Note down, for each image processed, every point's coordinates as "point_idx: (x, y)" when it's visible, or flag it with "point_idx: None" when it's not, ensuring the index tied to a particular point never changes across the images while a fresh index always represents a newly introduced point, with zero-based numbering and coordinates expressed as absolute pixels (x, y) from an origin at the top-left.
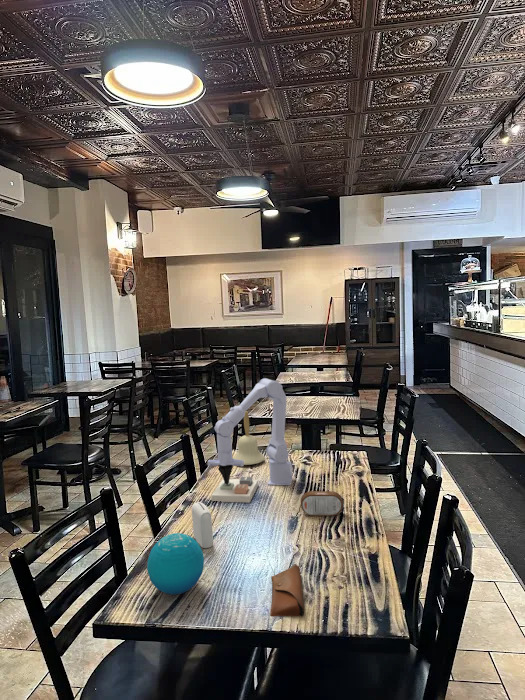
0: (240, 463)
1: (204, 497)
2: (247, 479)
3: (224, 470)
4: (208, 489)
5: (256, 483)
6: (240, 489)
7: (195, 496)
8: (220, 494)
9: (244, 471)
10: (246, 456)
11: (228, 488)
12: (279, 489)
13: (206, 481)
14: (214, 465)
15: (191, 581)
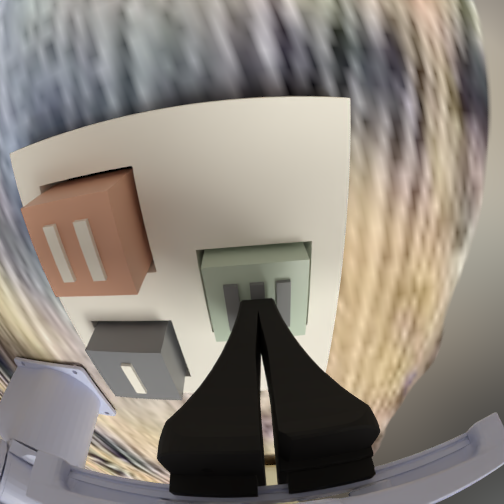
0: (49, 487)
1: (404, 171)
2: (117, 370)
3: (275, 419)
4: (393, 292)
5: None
6: (61, 196)
7: (455, 186)
8: (264, 123)
9: None
10: None
11: (226, 257)
12: (18, 326)
13: (404, 364)
14: (428, 449)
15: None
